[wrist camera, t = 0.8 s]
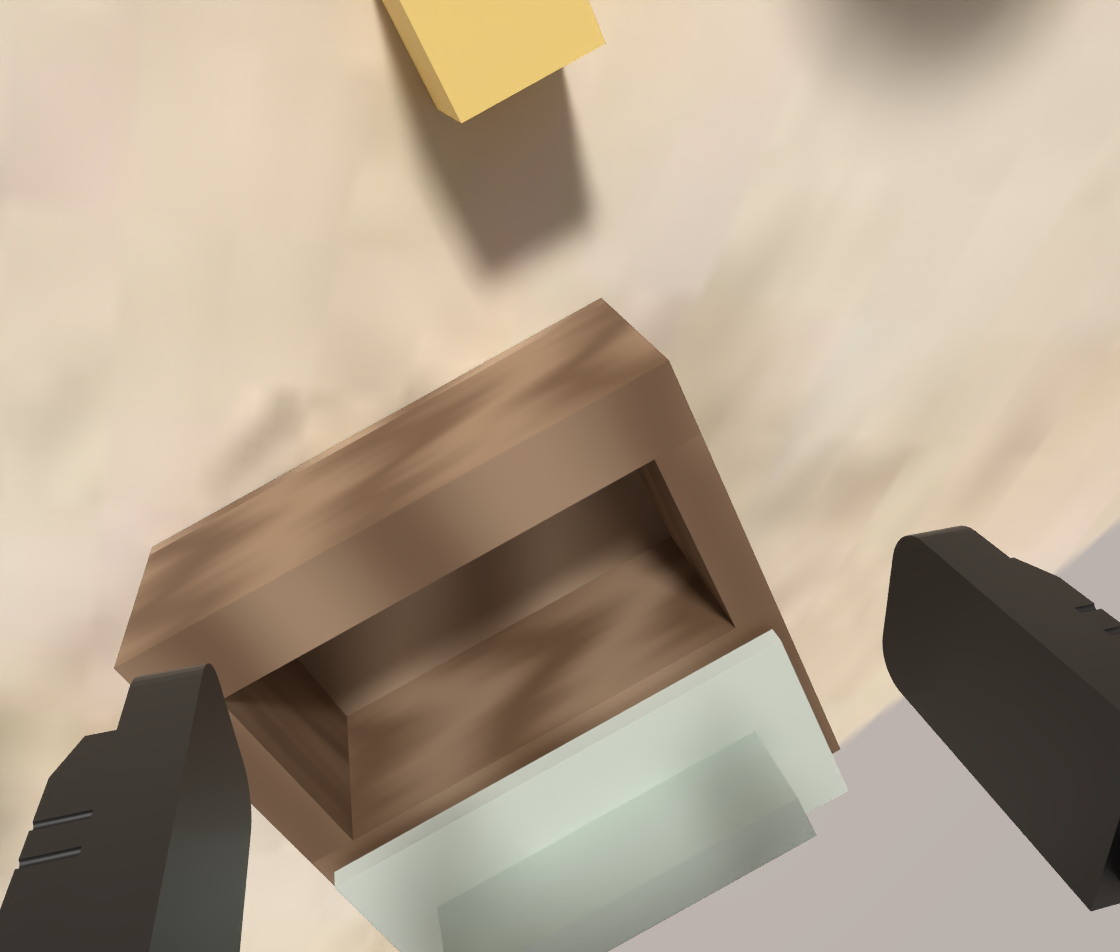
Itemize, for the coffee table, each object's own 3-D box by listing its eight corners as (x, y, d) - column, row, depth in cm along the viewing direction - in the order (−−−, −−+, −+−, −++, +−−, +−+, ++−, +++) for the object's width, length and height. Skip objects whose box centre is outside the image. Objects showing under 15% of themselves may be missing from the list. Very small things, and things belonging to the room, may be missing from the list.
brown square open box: (601, 297, 30) (669, 360, 24) (762, 642, 38) (840, 749, 32) (151, 547, 30) (114, 668, 24) (411, 837, 38) (427, 978, 32)
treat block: (494, -107, 24) (533, -138, 20) (557, 42, 26) (605, 43, 22) (364, -35, 24) (374, -50, 20) (437, 109, 26) (461, 123, 22)
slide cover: (771, 629, 29) (828, 701, 26) (839, 778, 33) (895, 857, 30) (334, 871, 29) (336, 974, 26) (454, 992, 33) (469, 1094, 30)
